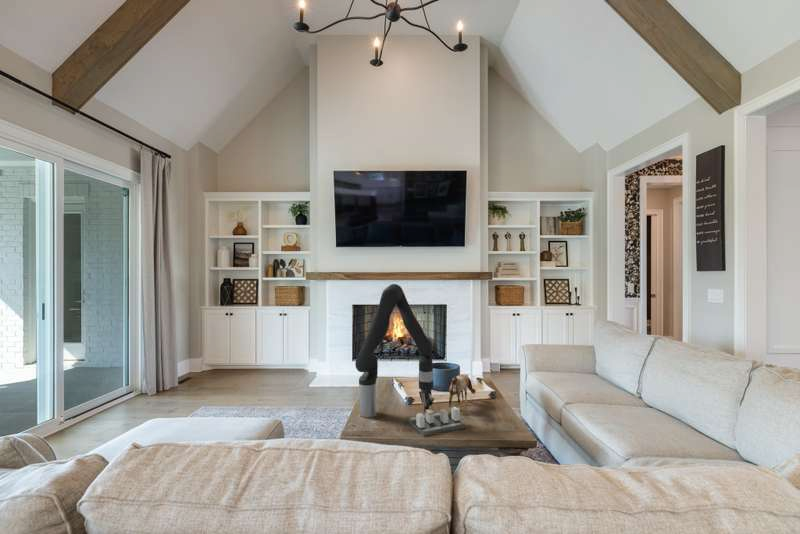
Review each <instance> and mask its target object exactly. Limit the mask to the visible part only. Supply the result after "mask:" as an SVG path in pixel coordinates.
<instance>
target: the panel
mask: <svg viewBox="0 0 800 534" xmlns="http://www.w3.org/2000/svg"><path fill="white" fill-rule="evenodd" d="M423 415H424V423H425V427H424V428H419V427H418V426H417V425H416V416H414V417H409V418H407V419H408V421H407V422H408V423H409V424H410V425H411V426H412V428H414V429H415V430H416V429H417V430H418V431H419V432H420V433H421V434H422V435H423V436H424V437H426V436H425V435H429V436H431V434H433V435H438V434H442V433H447V431H448V432H451V431H457V430H463V429H465V424H464V423H463V422H461V420H459V421H454V420H453V419H452V418H451V414H449V412H448V423H442V422H441V421H440V412H436V413H435V412H434V423H430V424H429V423H428V422H427V421H426V414H423ZM462 428H463V429H462ZM417 430H416V431H417ZM418 431H417V432H418ZM419 432H418V433H419ZM420 433H419V434H420ZM437 433H438V434H437ZM421 434H420V435H421ZM422 435H421V436H422ZM423 436H422V437H423Z"/></svg>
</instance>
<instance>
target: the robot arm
mask: <svg viewBox="0 0 800 534" xmlns="http://www.w3.org/2000/svg"><path fill="white" fill-rule="evenodd" d="M410 306H411V305H410V304H409V301H408V300H407V297H406V294H405V292H404V290H403V288H402V287H401V285H399V284H397V283H392V284H390V285H389V286H386V287H385V288H384V289H383V290H382V293H381V296H380V300H379V304H378V308H377V311H376V313H375V314H374V317H373V319H372V322H371V323H370V327H369V329H368V332H367V335H366V336H365V338H364V342H363V344H362V346H361V348H360V351H359V352H358V354H357V356H356V359H355V363H354V364H355V369H356V371H358V372H359V373H362V374H361V376H360V377H359V378H358V390H359V391H358V394H359V396H358V397H359V398H358V399H359V401H358V403H359V416H360V417H361V418H366V419H367V418H368V419H369V418H373V417H375V416H377V415H378V414H377V413H378V412H377V411H378V410H377V408H378V407H377V406H378V405H377V402H378V401H377V380H378V372H379V371H378V368H379V363H378V362H379V361H378V357H377V355H376V354H375V353H374V352H375V351H376V349H377V348H378V347H379V346H380V345H381V343H383V342H384V339H385V338H386V336H387V334H388V330H389V328H390V323H391V321H390V319H391V315H392V312H393V310H394V308H395V307H397V309H398V311H399V313H400V316H401V319H402V322H403V325H404V327H405V329H406V331H407V333H408V334H409V336H410V337H411V339H412V340H413V342H414V345H415V346H416V348H417V350H418V355H419V356H418V358H419V359H418V360H419V361H418V388H419V390H420V391H418V393H419V397H420V401H421V403H422V405H423V413H424V414H426V410H427V409H430V407H431V406H433V403H434V401H435V398H434V397H432V395H433V394H432V390H433V389H434V387H435V385H434V367H433V366H434V364H433V350H434V349H433V344H432V341H431V340H429V339H428V337H427V335H426V333H425V332H424V331H425V330H424V329H423V327H422V326H421V324H420V322H419V320H417V317H416V316H415V314H414V312H413V310H412V308H411V307H410Z"/></svg>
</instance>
